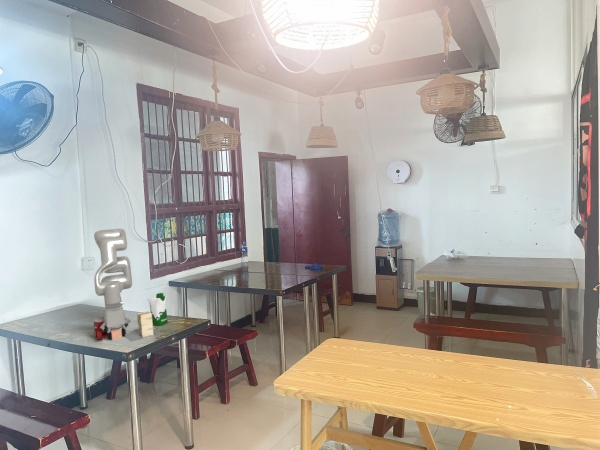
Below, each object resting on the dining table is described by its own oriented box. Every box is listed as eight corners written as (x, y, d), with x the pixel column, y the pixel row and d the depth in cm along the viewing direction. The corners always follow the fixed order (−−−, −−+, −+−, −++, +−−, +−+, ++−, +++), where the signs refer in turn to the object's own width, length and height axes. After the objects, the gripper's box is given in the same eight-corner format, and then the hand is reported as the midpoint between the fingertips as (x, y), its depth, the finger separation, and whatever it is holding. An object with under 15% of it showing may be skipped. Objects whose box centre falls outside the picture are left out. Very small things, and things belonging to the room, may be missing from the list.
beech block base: (139, 334, 241) (138, 324, 241) (149, 332, 245) (148, 321, 245) (142, 337, 237) (141, 326, 236) (153, 334, 240) (152, 323, 240)
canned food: (98, 336, 248) (96, 317, 248) (112, 335, 249) (111, 316, 248) (93, 341, 241) (91, 321, 240) (108, 339, 241) (106, 320, 241)
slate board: (121, 337, 244) (121, 334, 244) (149, 330, 254) (149, 327, 254) (131, 344, 230) (131, 341, 230) (161, 336, 240) (160, 334, 240)
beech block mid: (138, 324, 241) (137, 313, 241) (148, 321, 245) (147, 311, 244) (141, 326, 236) (140, 315, 236) (152, 323, 240) (151, 313, 240)
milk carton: (161, 329, 255) (158, 295, 254) (148, 328, 258) (145, 295, 257) (170, 324, 263) (167, 292, 262) (158, 324, 266) (155, 291, 265)
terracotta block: (110, 340, 239) (109, 330, 239) (119, 338, 242) (118, 328, 242) (112, 342, 235) (111, 332, 235) (122, 340, 238) (121, 329, 238)
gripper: (127, 301, 246) (130, 332, 247) (95, 308, 235) (98, 340, 236) (132, 303, 240) (135, 335, 241) (98, 310, 229) (102, 343, 230)
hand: (116, 337), depth 239 cm, fingers open, 6 cm apart
